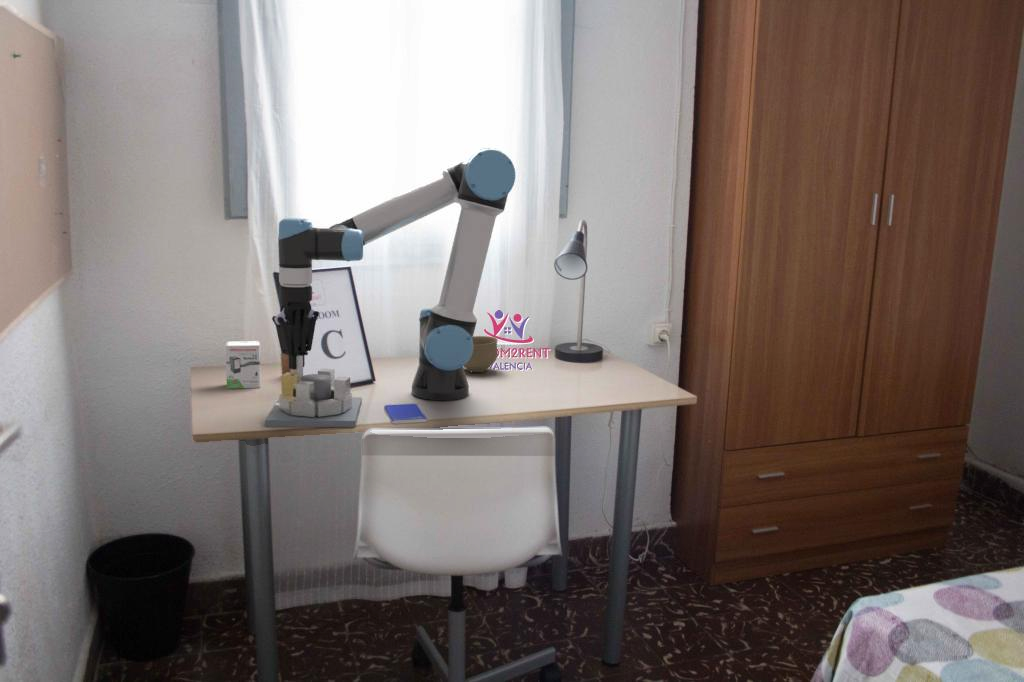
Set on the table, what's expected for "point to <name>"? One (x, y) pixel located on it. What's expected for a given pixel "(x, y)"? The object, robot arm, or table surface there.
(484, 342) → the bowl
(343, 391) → the ring nut
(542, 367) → the table surface
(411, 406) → the hard drive
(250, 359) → the ink box
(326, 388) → the housing
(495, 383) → the table surface
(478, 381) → the table surface
